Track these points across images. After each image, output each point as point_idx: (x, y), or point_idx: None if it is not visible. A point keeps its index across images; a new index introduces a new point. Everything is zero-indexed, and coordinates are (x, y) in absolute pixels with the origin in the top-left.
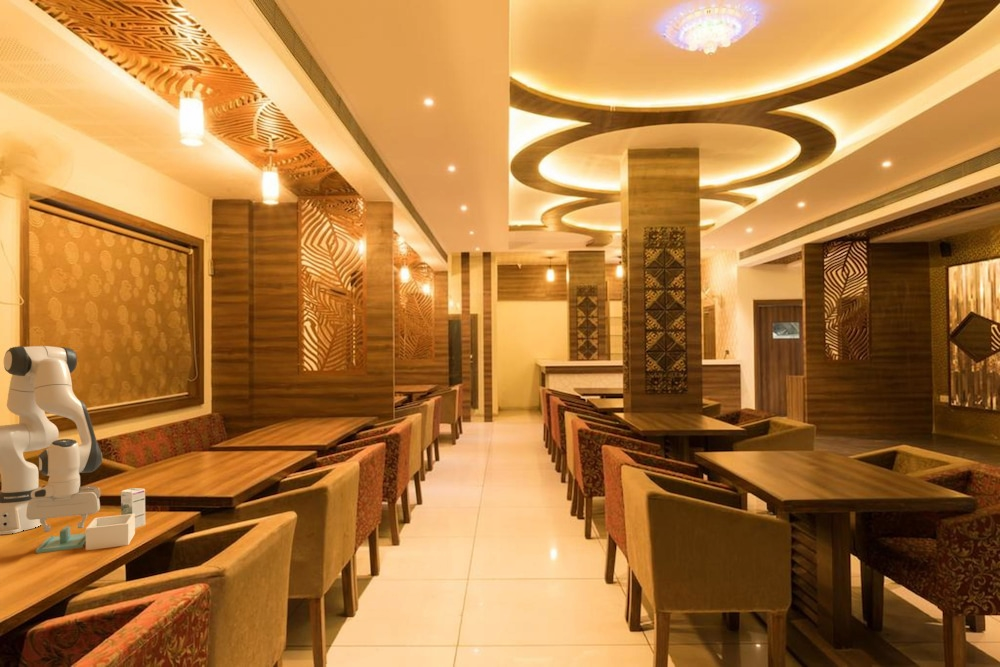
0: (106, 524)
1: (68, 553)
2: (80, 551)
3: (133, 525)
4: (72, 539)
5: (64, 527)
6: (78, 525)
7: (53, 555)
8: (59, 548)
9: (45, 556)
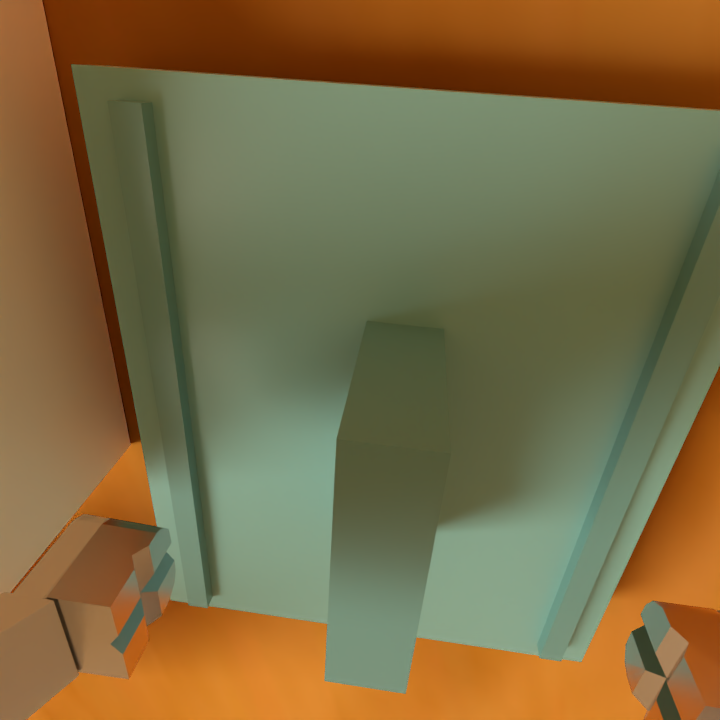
0: None
1: (296, 5)
2: (144, 33)
3: None
4: (310, 450)
5: (402, 666)
6: (120, 566)
7: (509, 7)
8: (429, 90)
9: (627, 13)
